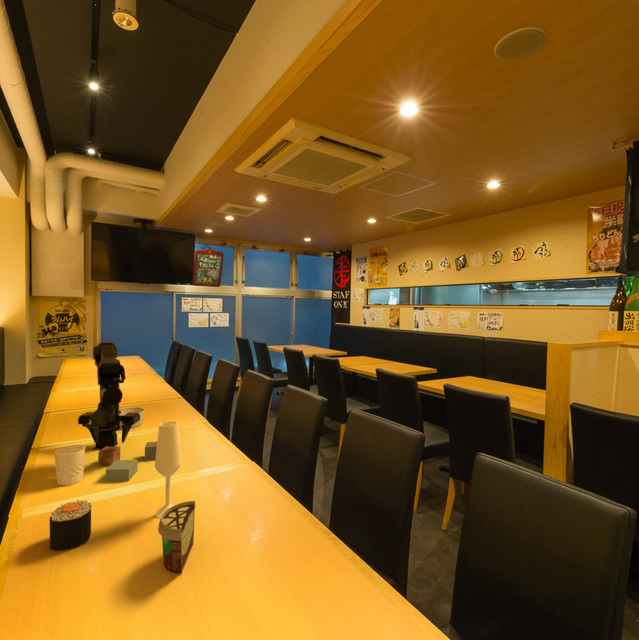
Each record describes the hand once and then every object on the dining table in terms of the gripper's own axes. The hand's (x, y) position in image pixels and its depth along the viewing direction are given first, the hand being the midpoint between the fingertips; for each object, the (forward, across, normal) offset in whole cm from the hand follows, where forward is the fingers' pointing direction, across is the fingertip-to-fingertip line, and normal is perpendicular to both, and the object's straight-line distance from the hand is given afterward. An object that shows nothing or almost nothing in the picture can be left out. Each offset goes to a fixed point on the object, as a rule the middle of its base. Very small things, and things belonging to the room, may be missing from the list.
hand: (109, 442), depth 129 cm
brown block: (+7, +13, +5) cm, 16 cm away
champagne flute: (+7, +31, -31) cm, 45 cm away
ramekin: (+8, -12, +41) cm, 43 cm away
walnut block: (+7, 0, 0) cm, 7 cm away
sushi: (+7, +13, -43) cm, 46 cm away
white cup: (+7, -5, -13) cm, 16 cm away
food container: (+7, +39, -50) cm, 64 cm away
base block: (+7, +9, -10) cm, 15 cm away
